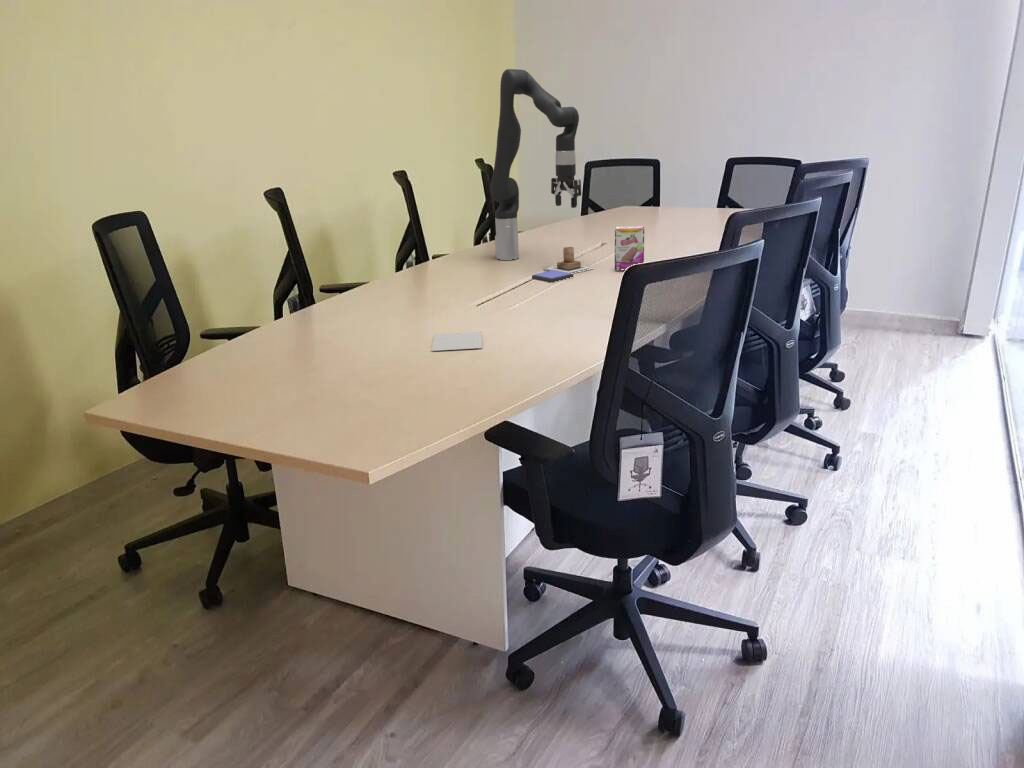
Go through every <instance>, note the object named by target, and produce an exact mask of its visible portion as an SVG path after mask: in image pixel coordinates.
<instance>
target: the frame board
mask: <svg viewBox="0 0 1024 768" xmlns="http://www.w3.org/2000/svg"><path fill="white" fill-rule="evenodd" d="M590 267H591V266H588V267H586V265H582V264H581V268H578V269H574V270H570V271H568V270H562V269H557V265H554V266H551V267H550V266H549V267H547V268H543V269H542V271H543V270H546V271H545V272H548V271H552V270H555V271H560V272H565V273H575V272H578V271H583V270H587V269H589V268H590Z"/></svg>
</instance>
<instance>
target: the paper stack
mask: <svg viewBox="0 0 1024 768" xmlns="http://www.w3.org/2000/svg"><path fill="white" fill-rule="evenodd" d="M482 338H483V337H482V331H468V332H465V331H464V332H452V333H451V332H449V333H447V332H446V333H434V334H433V341H432V347H431V352H436V351H437V352H438V351H454V350H455V351H456V350H470V349H471V350H472V349H473V350H475V349H482V348H483V347H482V346H483V345H482V344H483V342H482V341H483V340H482Z"/></svg>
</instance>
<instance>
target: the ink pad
mask: <svg viewBox="0 0 1024 768" xmlns="http://www.w3.org/2000/svg"><path fill="white" fill-rule="evenodd" d="M570 277H573V278H574V274H571V273H565V272H560V271H555V270H552V271H544V272H539V273H535V274H533V275H531V279H533V280H537V281H541V282H546V281H547V283H551V282H552V283H556V282H555V281H557V282H560V281H559V280H561V281H564V280H563V279H565V280H567V279H566V278H569V279H571V278H570Z"/></svg>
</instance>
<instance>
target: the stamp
mask: <svg viewBox="0 0 1024 768" xmlns="http://www.w3.org/2000/svg"><path fill="white" fill-rule="evenodd" d="M562 250H563V260H562V261H557V262H556V266H557V269H562V270H568V271H570V270H574V269H578V268H581V265H582V263H581V262H582V261H580V260H575V257H574V256H575V252H574V251H575V248H574V246H566V247H563V249H562Z"/></svg>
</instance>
